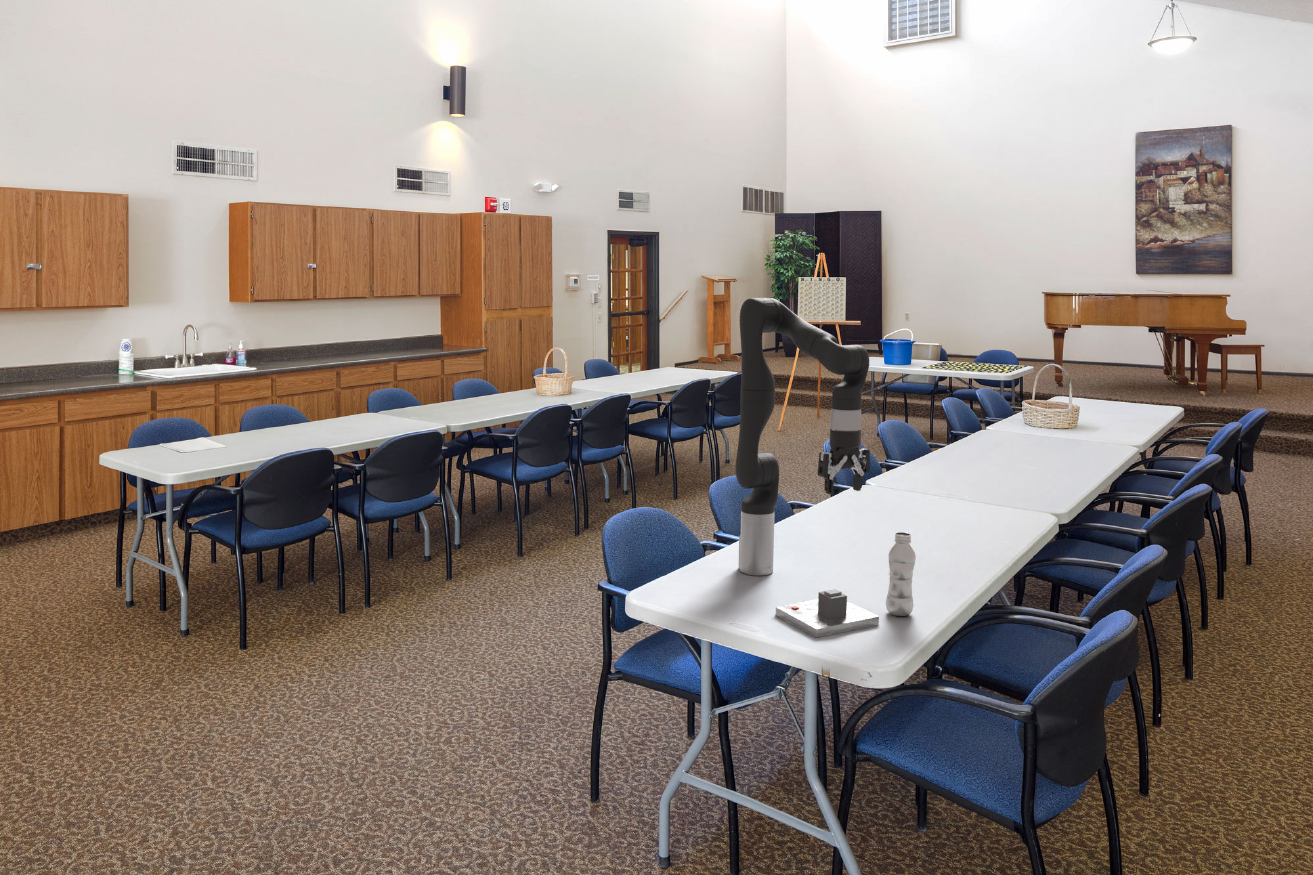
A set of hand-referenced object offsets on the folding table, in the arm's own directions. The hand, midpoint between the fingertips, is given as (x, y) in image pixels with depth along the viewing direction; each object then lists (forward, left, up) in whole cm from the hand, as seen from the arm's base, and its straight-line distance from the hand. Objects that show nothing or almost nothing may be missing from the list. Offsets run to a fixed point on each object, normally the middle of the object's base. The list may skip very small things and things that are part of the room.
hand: (843, 492), depth 219 cm
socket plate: (+9, -11, -28) cm, 31 cm away
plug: (+11, -11, -28) cm, 32 cm away
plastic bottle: (+14, +7, -28) cm, 32 cm away
